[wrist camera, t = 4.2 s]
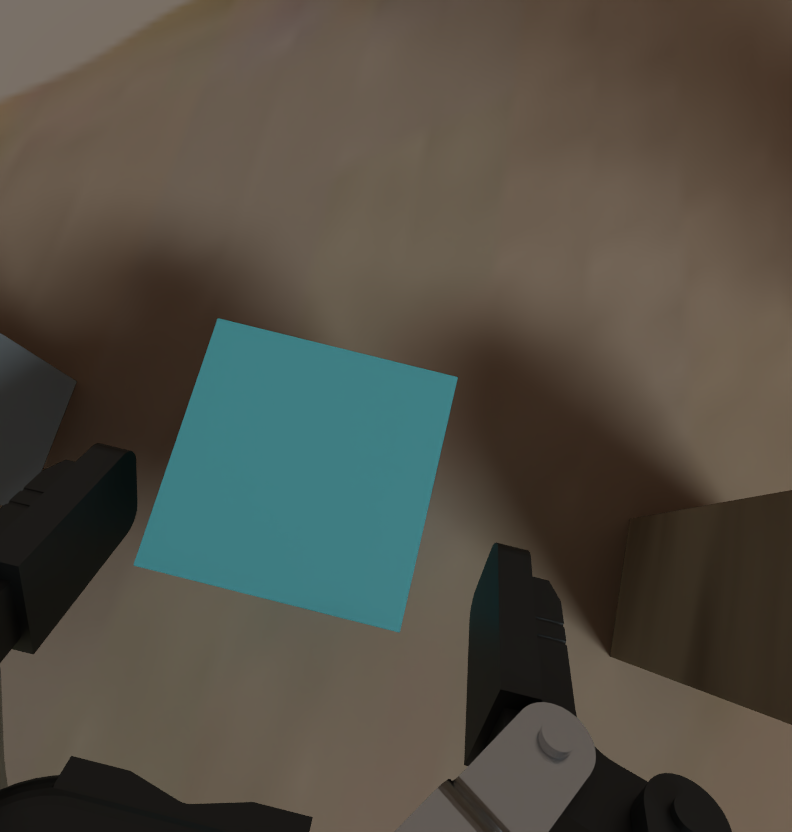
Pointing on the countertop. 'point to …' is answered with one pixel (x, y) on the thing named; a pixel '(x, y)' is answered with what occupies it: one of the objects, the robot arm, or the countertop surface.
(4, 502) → the charcoal block
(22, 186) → the countertop surface
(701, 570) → the walnut block
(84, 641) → the countertop surface
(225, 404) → the teal block
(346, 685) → the countertop surface
